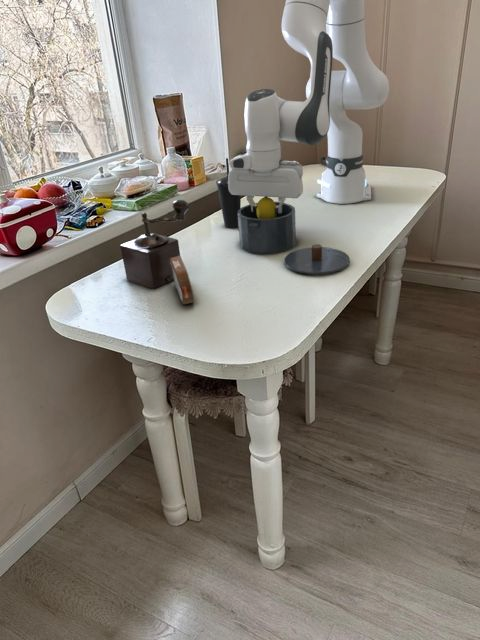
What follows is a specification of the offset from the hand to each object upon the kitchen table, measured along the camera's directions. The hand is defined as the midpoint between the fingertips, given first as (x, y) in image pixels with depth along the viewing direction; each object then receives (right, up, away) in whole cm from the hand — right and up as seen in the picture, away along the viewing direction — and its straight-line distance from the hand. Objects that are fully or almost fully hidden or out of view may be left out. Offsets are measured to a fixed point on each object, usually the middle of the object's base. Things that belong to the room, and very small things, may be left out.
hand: (266, 212), depth 146 cm
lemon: (0, -3, +2) cm, 4 cm away
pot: (0, -8, +5) cm, 9 cm away
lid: (+13, -15, -9) cm, 21 cm away
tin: (-20, -25, -21) cm, 38 cm away
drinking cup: (-10, +1, +20) cm, 22 cm away
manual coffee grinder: (-26, -18, -9) cm, 33 cm away
